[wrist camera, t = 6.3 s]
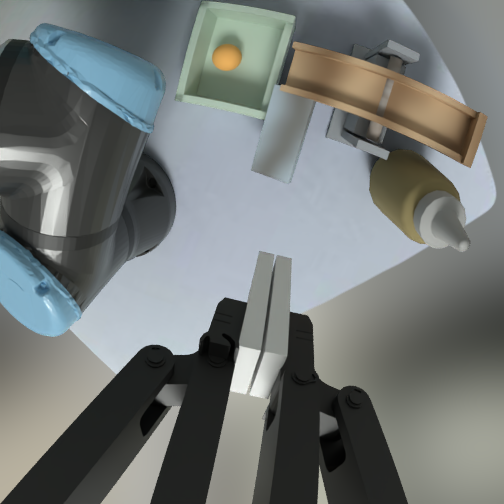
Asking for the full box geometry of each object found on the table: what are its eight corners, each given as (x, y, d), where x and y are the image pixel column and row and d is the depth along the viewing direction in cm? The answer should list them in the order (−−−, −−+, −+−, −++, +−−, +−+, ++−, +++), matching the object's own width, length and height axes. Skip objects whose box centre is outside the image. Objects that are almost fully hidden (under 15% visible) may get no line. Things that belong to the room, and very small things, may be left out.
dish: (190, 99, 32) (174, 100, 28) (213, 12, 26) (201, 0, 22) (269, 117, 32) (265, 120, 28) (295, 27, 27) (295, 16, 22)
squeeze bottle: (386, 130, 31) (465, 165, 15) (433, 170, 32) (518, 232, 16) (349, 183, 34) (393, 259, 19) (397, 218, 36) (456, 306, 20)
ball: (239, 73, 27) (235, 73, 30) (247, 46, 26) (242, 49, 28) (209, 67, 26) (208, 68, 29) (216, 39, 25) (215, 43, 28)
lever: (263, 165, 33) (243, 173, 28) (300, 37, 25) (285, 21, 21) (423, 232, 29) (432, 253, 24) (473, 103, 21) (492, 99, 16)
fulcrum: (325, 136, 32) (337, 149, 24) (354, 44, 26) (374, 25, 18) (373, 154, 32) (398, 173, 24) (401, 64, 27) (435, 55, 18)
